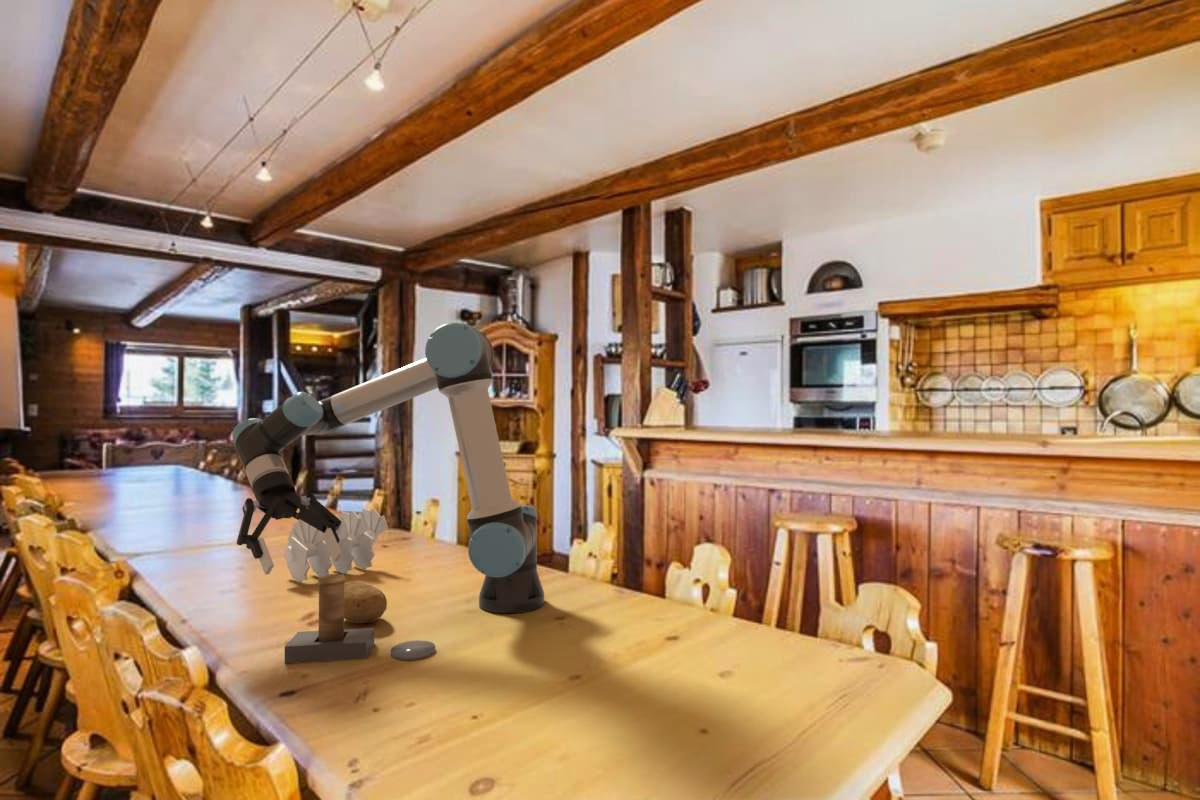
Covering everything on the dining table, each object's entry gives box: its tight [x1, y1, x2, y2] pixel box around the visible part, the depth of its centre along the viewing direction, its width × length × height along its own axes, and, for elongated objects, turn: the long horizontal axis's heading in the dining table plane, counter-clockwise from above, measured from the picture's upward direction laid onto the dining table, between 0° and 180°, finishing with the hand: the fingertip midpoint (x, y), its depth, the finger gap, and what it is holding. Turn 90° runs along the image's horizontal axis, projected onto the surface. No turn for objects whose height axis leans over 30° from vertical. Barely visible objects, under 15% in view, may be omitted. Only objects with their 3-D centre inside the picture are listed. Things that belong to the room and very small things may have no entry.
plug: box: [317, 573, 346, 642], centre depth 122 cm, size 5×5×14 cm
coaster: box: [390, 639, 436, 661], centre depth 122 cm, size 8×8×1 cm
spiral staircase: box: [283, 507, 389, 584], centre depth 180 cm, size 18×18×25 cm
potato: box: [344, 580, 388, 624], centre depth 140 cm, size 10×14×8 cm
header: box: [284, 627, 375, 664], centre depth 122 cm, size 14×8×3 cm, turn 99°
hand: (305, 563), depth 128 cm, fingers open, 13 cm apart
